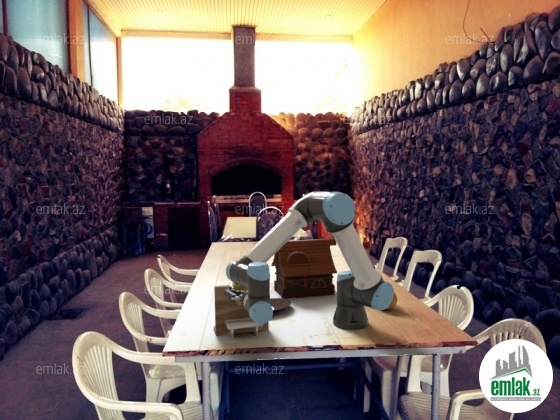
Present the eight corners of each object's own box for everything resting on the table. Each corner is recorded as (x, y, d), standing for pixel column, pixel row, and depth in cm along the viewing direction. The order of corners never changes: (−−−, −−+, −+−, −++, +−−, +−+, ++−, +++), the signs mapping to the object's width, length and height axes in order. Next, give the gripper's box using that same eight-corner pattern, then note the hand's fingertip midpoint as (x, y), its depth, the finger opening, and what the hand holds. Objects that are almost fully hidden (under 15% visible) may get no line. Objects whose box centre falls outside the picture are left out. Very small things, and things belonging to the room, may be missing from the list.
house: (280, 302, 228) (280, 245, 225) (268, 288, 255) (267, 237, 253) (345, 296, 236) (345, 242, 234) (326, 283, 264) (326, 235, 261)
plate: (260, 298, 236) (260, 291, 236) (303, 307, 218) (303, 300, 218) (221, 311, 214) (221, 303, 214) (265, 323, 197) (265, 315, 196)
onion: (382, 313, 208) (382, 292, 207) (372, 307, 217) (372, 287, 216) (401, 311, 210) (401, 290, 209) (390, 305, 220) (390, 285, 219)
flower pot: (256, 306, 175) (256, 283, 174) (234, 307, 173) (233, 284, 173) (253, 300, 184) (253, 278, 183) (232, 301, 182) (232, 279, 181)
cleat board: (272, 335, 181) (272, 287, 179) (218, 341, 175) (217, 291, 173) (264, 323, 195) (263, 278, 193) (213, 328, 189) (212, 282, 188)
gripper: (223, 314, 158) (215, 297, 180) (282, 308, 164) (268, 293, 186) (222, 293, 158) (215, 279, 179) (282, 288, 163) (267, 275, 185)
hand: (242, 286), depth 182 cm, fingers closed on flower pot, 9 cm apart
